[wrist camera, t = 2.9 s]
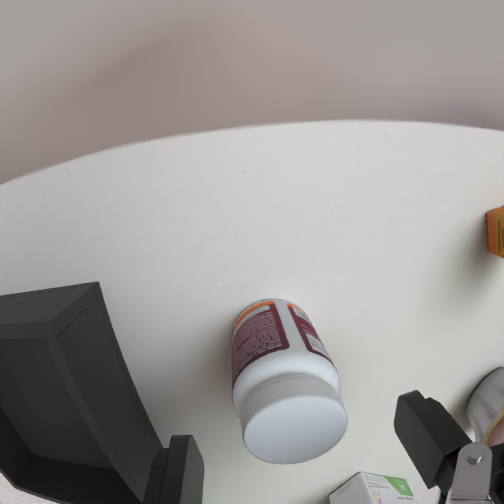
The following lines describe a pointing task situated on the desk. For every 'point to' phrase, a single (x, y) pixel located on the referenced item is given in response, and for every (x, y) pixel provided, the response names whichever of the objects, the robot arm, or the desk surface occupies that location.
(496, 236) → the supplement box
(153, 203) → the desk surface
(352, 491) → the ink box
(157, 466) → the robot arm
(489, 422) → the cupcake
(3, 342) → the tray
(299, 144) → the desk surface
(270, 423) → the pill bottle
